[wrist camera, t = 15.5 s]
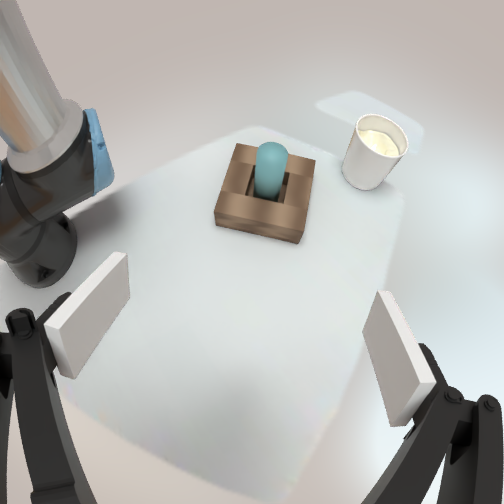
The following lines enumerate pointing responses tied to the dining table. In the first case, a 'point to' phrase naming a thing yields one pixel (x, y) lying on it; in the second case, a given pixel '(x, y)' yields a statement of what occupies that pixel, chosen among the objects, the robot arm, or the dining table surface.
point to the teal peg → (269, 171)
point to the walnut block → (259, 210)
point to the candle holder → (373, 151)
